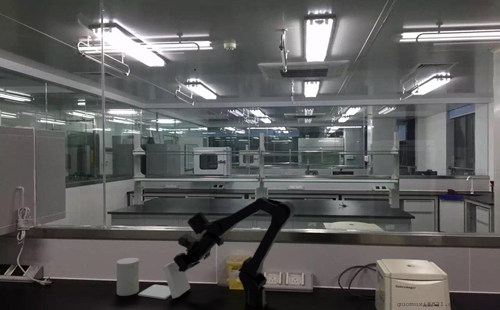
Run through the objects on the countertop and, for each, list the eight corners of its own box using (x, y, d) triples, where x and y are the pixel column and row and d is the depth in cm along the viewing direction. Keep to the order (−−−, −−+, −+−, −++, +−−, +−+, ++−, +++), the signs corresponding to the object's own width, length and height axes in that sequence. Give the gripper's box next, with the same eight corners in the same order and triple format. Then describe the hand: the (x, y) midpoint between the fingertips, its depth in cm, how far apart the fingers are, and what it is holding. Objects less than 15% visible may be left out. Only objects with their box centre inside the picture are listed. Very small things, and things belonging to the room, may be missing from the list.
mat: (179, 289, 127) (179, 287, 127) (164, 299, 117) (164, 297, 117) (154, 285, 131) (154, 284, 131) (138, 295, 121) (138, 293, 121)
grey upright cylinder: (131, 296, 121) (131, 264, 121) (112, 295, 122) (112, 263, 123) (142, 288, 128) (142, 258, 129) (124, 286, 130) (124, 257, 130)
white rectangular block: (190, 288, 126) (180, 258, 127) (177, 297, 117) (167, 265, 119) (185, 289, 126) (175, 260, 128) (172, 298, 118) (162, 267, 120)
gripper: (203, 223, 130) (179, 248, 133) (178, 232, 112) (151, 261, 116) (221, 244, 127) (196, 269, 130) (198, 257, 109) (170, 285, 113)
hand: (179, 270), depth 122 cm, fingers closed
